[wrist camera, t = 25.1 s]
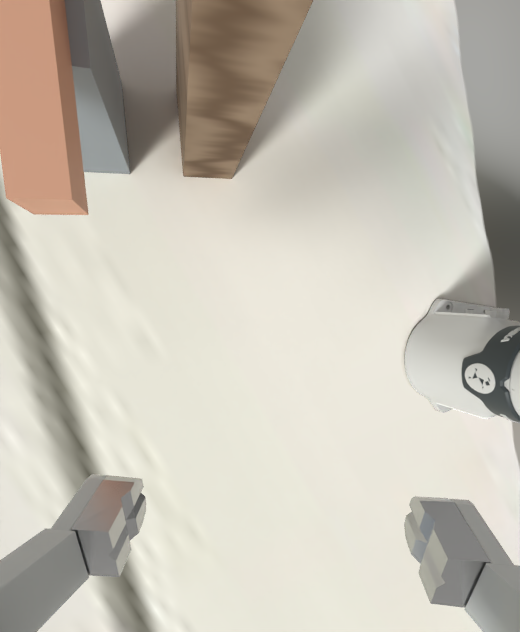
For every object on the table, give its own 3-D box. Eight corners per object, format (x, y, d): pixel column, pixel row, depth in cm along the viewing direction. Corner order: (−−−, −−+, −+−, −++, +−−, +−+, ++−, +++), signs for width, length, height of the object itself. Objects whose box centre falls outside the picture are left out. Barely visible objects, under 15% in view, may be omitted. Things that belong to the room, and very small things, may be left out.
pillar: (226, 96, 36) (336, -362, 11) (231, 178, 37) (347, -74, 12) (176, 90, 34) (173, -465, 9) (183, 176, 35) (198, -123, 10)
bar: (45, -170, 17) (18, -267, 14) (88, 214, 19) (72, 199, 16) (-17, -190, 16) (-60, -297, 13) (34, 214, 18) (6, 198, 15)
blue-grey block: (121, 82, 33) (72, -108, 17) (130, 173, 33) (90, 68, 18) (71, 76, 31) (-30, -137, 16) (81, 171, 32) (-6, 55, 17)
